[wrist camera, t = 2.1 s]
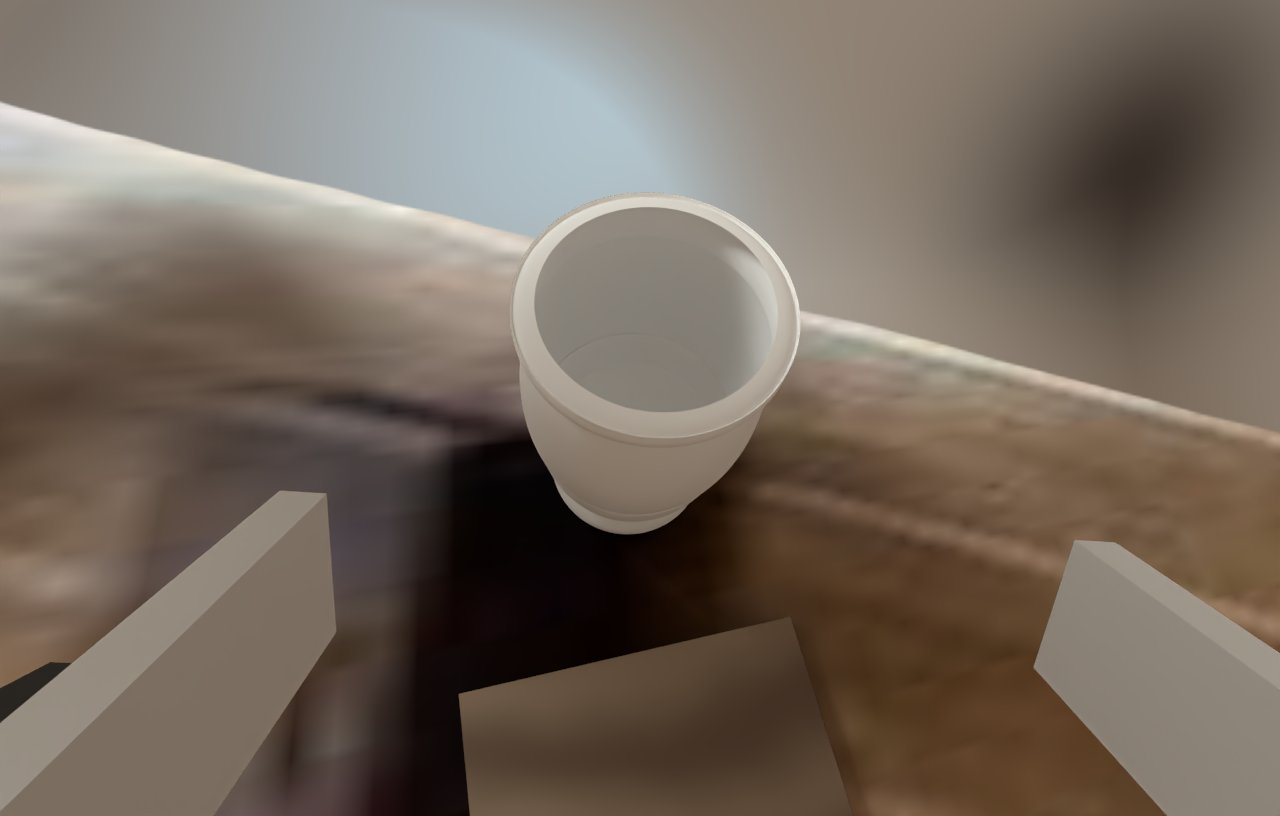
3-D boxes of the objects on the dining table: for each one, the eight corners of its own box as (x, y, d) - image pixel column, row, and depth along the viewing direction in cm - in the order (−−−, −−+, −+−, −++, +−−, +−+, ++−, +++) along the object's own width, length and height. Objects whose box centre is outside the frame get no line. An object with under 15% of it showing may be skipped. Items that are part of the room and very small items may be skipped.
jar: (567, 359, 38) (563, 161, 25) (734, 405, 38) (820, 229, 24) (505, 524, 33) (458, 387, 20) (695, 579, 33) (777, 477, 20)
